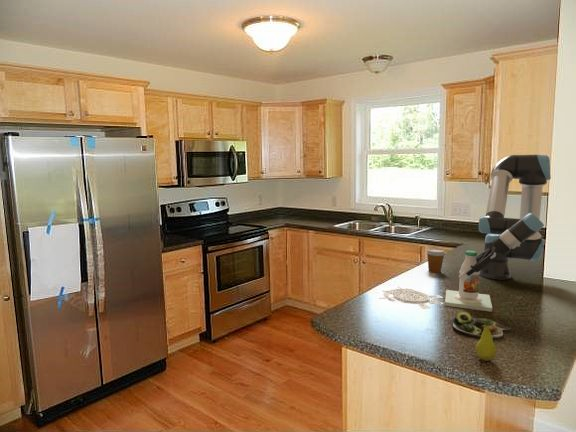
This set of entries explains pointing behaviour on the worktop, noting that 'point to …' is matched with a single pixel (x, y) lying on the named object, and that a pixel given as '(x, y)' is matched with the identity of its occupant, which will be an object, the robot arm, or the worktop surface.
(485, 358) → the fruit
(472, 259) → the milk bottle
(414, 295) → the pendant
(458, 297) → the locating board
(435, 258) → the disposable coffee cup
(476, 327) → the salad plate
